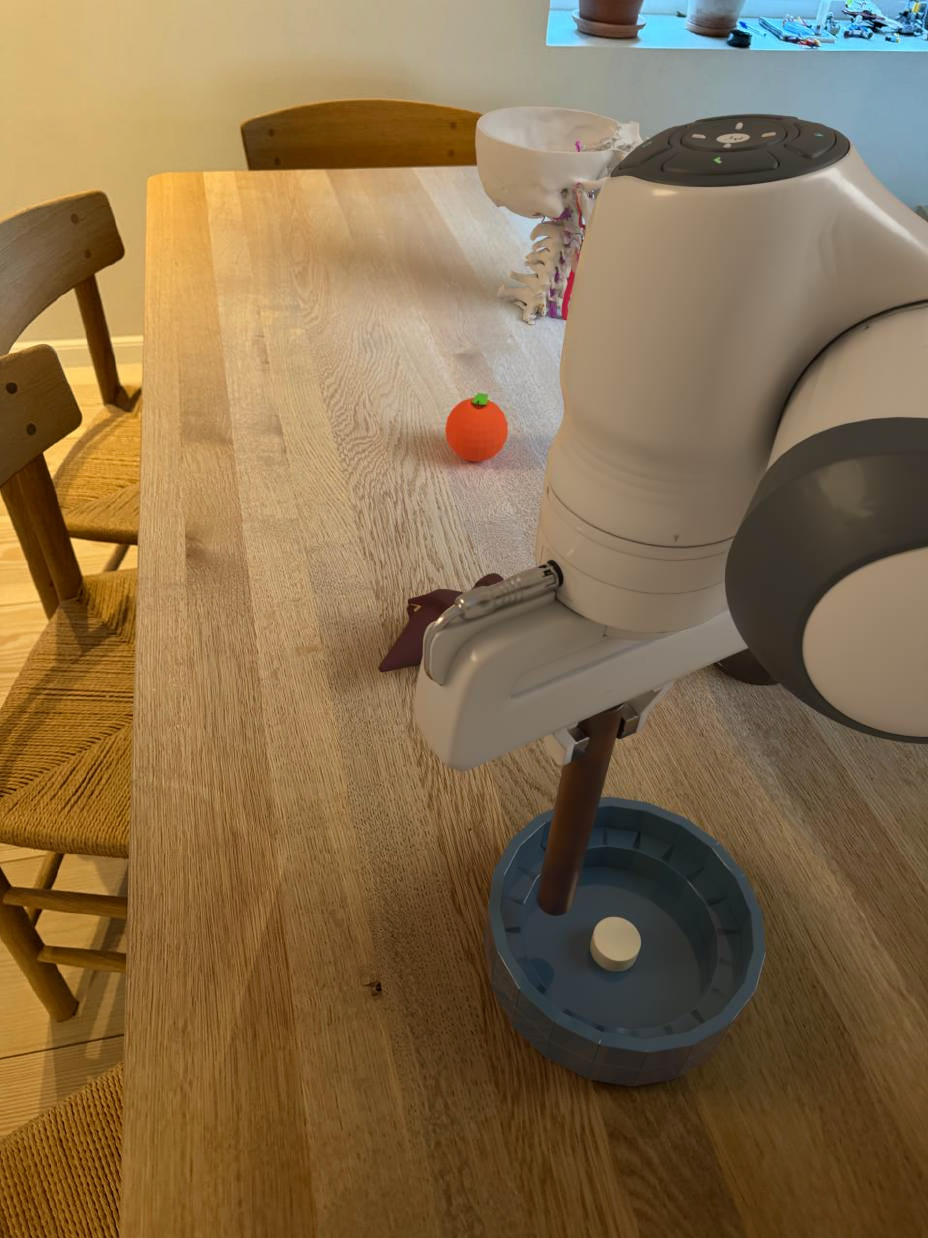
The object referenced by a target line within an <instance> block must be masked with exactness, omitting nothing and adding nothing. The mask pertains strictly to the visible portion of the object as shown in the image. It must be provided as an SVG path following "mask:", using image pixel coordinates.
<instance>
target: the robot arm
mask: <svg viewBox="0 0 928 1238" xmlns="http://www.w3.org/2000/svg"><path fill="white" fill-rule="evenodd" d="M649 138H650V137H649ZM643 142H644V143H642V144H640V145H639V146H638V147H636V148H635V149H634V150H633V151H632V152H630V153H629V154H628V155H627V156H626V157H625V159H623V160H622V161H621V162H620V163H619V164H618V165H617V166H616V167H615V168H614V169H613V170H612V172H611V173H610V174H609V176H608V177H607V179H606V180H605V182H604V184H603V186H602V188H601V190H600V192H599V194H598V196H597V199H596V201H595V204H594V207H593V209H592V212H591V215H590V219H589V222H588V225H587V228H586V232H585V236H583V239H584V240H583V243H582V247H581V251H580V256H579V260H578V265H577V269H576V273H575V278H574V283H573V288H572V293H571V296H570V301H569V304H568V315H567V320H565V327H564V333H563V334H564V335H563V341H562V346H561V354H560V361H559V385H560V389H561V395H562V403H563V412H562V413H563V414H562V419H561V423H560V426H559V428H558V429H557V432H556V433H555V435H554V438H553V440H552V442H551V444H550V447H549V450H548V454H547V458H546V463H545V470H544V479H543V486H542V494H541V501H540V509H539V514H538V523H537V529H536V538H535V545H534V562H535V567H531V568H528V569H525V570H523V571H519V572H517V573H516V574H513V575H511V576H509V577H506V578H505V579H504V580H503V581H501V582H498V583H496V584H493V585H490V586H488V587H486V586H481V587H477V588H474V589H472V588H471V589H469V590H467V591H465V592H463V594H461V595H460V596H458V597H457V598H456V599H455V604H454V605H453V606H451V607H450V608H449V609H447V610H446V611H445V612H444V613H443V614H442V615H441V616H440V617H439V618H438V619H437V620H436V621H434V622H432V623H431V624H430V625H429V626H428V627H427V629H426V631H425V634H424V638H423V657H422V661H421V665H419V670H418V675H417V681H416V687H415V694H414V700H413V718H414V722H415V724H416V727H417V728H418V730H419V732H420V733H421V735H422V737H423V738H424V740H425V741H426V743H427V745H428V746H429V748H430V749H431V750H432V752H433V753H434V755H436V757H437V758H438V759H439V760H440V761H441V762H442V763H443V764H444V765H445V766H448V767H449V768H451V769H452V770H453V769H454V770H455V771H458V772H466V771H470V770H472V769H474V768H477V767H479V766H481V765H483V764H485V763H488V762H491V761H493V760H495V759H497V758H500V757H502V756H504V755H506V754H509V753H511V752H514V751H516V750H518V749H520V748H523V747H525V746H527V745H529V744H532V743H534V742H536V741H538V740H541V739H543V745H544V749H545V750H546V752H547V754H549V756H550V758H552V760H553V761H554V762H555V764H556V765H557V766H559V767H562V768H563V766H564V765H566V764H568V763H570V762H572V761H574V760H576V759H578V758H580V757H582V756H585V755H586V750H585V749H586V747H587V746H588V742H589V737H588V736H587V734H586V733H585V732H584V731H583V729H581V728H578V727H577V724H578V722H580V721H582V720H584V719H587V718H589V717H591V716H594V715H596V714H598V713H600V712H603V711H605V710H607V709H610V708H612V707H614V706H616V705H619V704H621V703H623V702H625V706H624V710H623V713H622V717H621V721H620V725H619V729H618V733H617V736H616V740H623V739H624V738H627V737H629V736H632V735H634V734H636V733H638V732H640V731H642V730H644V728H645V724H646V721H647V718H648V715H649V712H651V711H652V710H653V709H654V707H656V705H657V704H658V703H659V702H660V700H662V698H663V697H664V696H665V695H667V693H668V691H670V690H671V688H672V687H673V686H674V684H675V682H676V680H678V679H681V678H682V677H685V676H687V675H690V674H692V673H695V672H697V671H699V670H702V669H703V668H706V667H708V666H710V665H714V663H715V662H717V661H720V660H722V659H724V658H726V657H729V656H731V655H733V654H736V653H738V652H740V651H742V650H745V649H747V648H749V649H750V651H751V652H752V653H753V655H754V656H755V658H756V659H757V660H758V661H759V662H760V664H761V665H762V666H763V667H764V668H765V669H766V670H767V671H768V673H769V674H770V675H771V676H772V677H773V678H774V679H776V680H777V681H778V682H779V683H778V684H780V685H781V686H782V687H783V688H784V689H785V690H786V691H787V692H788V693H790V694H791V695H793V697H795V698H797V700H799V701H800V702H802V703H804V704H805V705H806V706H808V707H809V708H811V709H812V710H814V711H815V712H817V713H818V714H820V715H822V716H824V717H826V718H827V719H829V720H831V721H833V722H836V723H837V724H840V725H842V726H844V727H846V728H848V729H850V730H854V731H856V732H859V733H862V734H864V735H868V736H871V737H875V738H879V739H883V740H887V741H892V742H897V743H898V742H899V743H905V744H916V745H928V221H926V220H925V219H924V218H922V217H921V216H920V215H919V214H917V213H916V212H914V211H913V210H912V209H911V208H910V207H908V205H906V204H905V203H904V202H902V200H900V199H899V198H898V197H897V196H896V195H894V193H892V192H891V191H890V190H889V189H888V188H887V187H886V186H885V185H884V184H883V182H881V181H880V180H879V179H878V177H876V176H875V175H874V174H873V172H872V171H871V170H870V169H869V167H868V166H867V164H866V163H865V161H864V160H863V158H862V157H861V155H860V153H859V151H858V149H857V148H856V147H855V145H854V143H853V142H852V141H851V140H850V139H849V138H848V137H847V136H846V135H844V133H842V132H840V131H838V130H837V129H835V128H832V127H830V126H827V125H826V124H823V123H821V122H820V123H819V122H814V121H809V120H806V119H800V118H799V117H797V116H791V115H783V114H771V113H741V114H729V115H728V114H727V115H720V116H711V117H705V118H700V119H696V120H695V121H693V122H687V123H686V124H685V123H684V124H681V125H674V126H671V127H668V128H666V129H664V130H662V131H660V132H658V133H656V134H655V135H652V136H651V138H650V139H648V140H647V141H645V140H644V141H643Z"/></svg>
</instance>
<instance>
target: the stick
mask: <svg viewBox="0 0 928 1238" xmlns="http://www.w3.org/2000/svg"><path fill="white" fill-rule="evenodd" d="M624 706H625V702H623V703H621V704H619V705H616V706H614V707H612V708H610V709H607V710H605V711H603V712H600V713H598V714H596V715H594V716H591V717H589V718H587V719H584V720H582V721H580V722H578V724H577V727H578V728H581V729H583V731H584V732H585V733H586V734H587V736H588V737H589V742H588V746H587V747H586V749H585V750H586V755H585V756H582V757H580V758H578V759H576V760H574V761H572V762H570V763H568V764H566V765H564V766H562V769H561V774H560V777H559V784H558V788H557V793H556V798H555V802H554V806H553V809H554V812H553V817H552V821H551V826H550V831H549V836H548V841H547V846H546V851H545V855H544V860H543V865H542V870H541V875H540V880H539V885H538V889H537V894H536V900H537V904H538V906H539V907H540V908H541V910H542V911H544V912H545V913H547V914H549V915H553V916H560V915H563V914H565V913H567V912H568V911H569V910H570V909H571V908H572V905H573V901H574V898H575V894H576V890H577V886H578V882H579V878H580V875H581V871H582V867H583V863H584V859H585V855H586V852H587V848H588V844H589V840H590V836H591V832H592V829H593V825H594V821H595V817H596V813H597V809H598V806H599V802H600V798H601V797H602V793H603V790H604V785H605V783H606V779H607V774H608V770H609V767H610V764H611V760H612V755H613V751H614V748H615V743H616V741H617V738H616V736H617V733H618V729H619V725H620V721H621V717H622V713H623V710H624Z"/></svg>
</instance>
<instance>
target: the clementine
mask: <svg viewBox="0 0 928 1238" xmlns="http://www.w3.org/2000/svg"><path fill="white" fill-rule="evenodd" d="M508 424H509V423H508V420H507V417H506V415H505V412H504V411H503V410H502V408H500V406H498V404H497V403H495V402H494V401H492V400H490V399H489V395H488V393H482V392H479V393H477V394H476V395H475V396H474V397H470V398H467V399H465V400H462V401H460V402H459V403H458V404H456V405H455V406H454V407H453V408H452V409H451V411H450V413H449V414H448V416H447V418H446V423H445V429H444V430H445V437H446V440H447V443H448V445H449V447H450V448H451V450H452V451H453V452H454V453H455V454H456V455H457V456H458V457H460V458H461V459H464V460H466V461H470V462H483V461H488V460H490V459H492V458H493V457H494V456H496V455H497V454H499V452H501V450H502V448H503V447H504V445H505V444H506V442H507V438H508V433H509V425H508Z"/></svg>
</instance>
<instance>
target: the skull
mask: <svg viewBox="0 0 928 1238" xmlns="http://www.w3.org/2000/svg"><path fill="white" fill-rule="evenodd" d="M640 134H641V133H640V123H639V122H637V121H634V120H633V121H632V120H629V122H628V123H625V122H620V121H618V120H615V119H613V118H611V117H608V116H605V115H601V114H598V113H595V112H591V111H587V110H583V109H574V108H566V107H558V106H540V105H539V106H537V105H535V106H534V105H533V106H531V105H529V106H528V105H527V106H525V105H524V106H512V107H504V108H500V109H495V110H491V111H489V112H486V113H485V114H483V115H481V116H480V117H479V118H478V120H477V122H476V127H475V138H474V147H475V155H476V168H477V173H478V177H479V180H480V182H481V186H482V188H483V191H484V193H485V195H486V196H487V197H488V198H489V200H490V201H491V202H492V203H493V204H494V205H495V207H497V208H500V207H504V208H506V209H507V210H508V211H509V212H511V213H513V214H515V215H517V216H520V217H523V218H527V219H530V220H531V219H532V220H537V219H542V220H541V222H540V223H538V224H536V225H535V226H534V228H533V229H532V231H531V233H530V234H529V239H530V241H531V242H534V241H535V240H536V239H537V238H539V237H543V238H542V239H541V240H538V241H536V242H534V243H533V244H532V245H531V249H532V251H531V252H529V253H528V254H526V255H525V259H526V260H524V262H523V263H524V264H523V265H524V267H529V269H531V270H532V271H533V272H535V273H530V274H529V273H519V272H516V271H510V272H509V278H510V279H512V280H515V281H517V282H520V283H523V284H524V285H525V286H524V287H513V288H512V287H509V286H508V284H506V283H503V284H502V285H501V286H500V287H499V289H498V290H497V293H496V297H497V298H498V299H499V300H503V299H505V298H514V299H518V301H514V302H513V304H515V305H517V306H518V307H520V308H521V309H522V310H524V311H523V314H522V321H523V322H526V323H527V324H528V325H536V324H537V323H536V321H535V319H537V316H536V313H537V312H538V314H539V315H538V316H539V319H541V315H542V316H543V317H546V316H547V313H549V316H550V317H551V318H558V313H557V309H559V310H561V317H562V320H565V321H567V315H568V309H569V304H570V298H571V293H572V288H573V283H574V278H575V273H576V269H577V265H578V260H579V256H580V251H581V247H582V243H583V240H584V236H585V232H586V228H587V225H588V222H589V219H590V215H591V212H592V209H593V207H594V204H595V201H596V199H597V196H598V194H599V192H600V190H601V188H602V186H603V184H604V182H605V180H606V179H607V177H608V176H609V174H610V173H611V172H612V170H613V169H614V168H615V167H616V166H617V165H618V164H619V163H620V162H621V161H622V160H623V159H625V157H626V156H627V155H628V154H629V153H630V152H632V151H633V150H634V149H635V148H636V147H638V146H639V145H640V144H642V143H644V142H645V141H647V140H648V139H650V138H651V137H652V136H651V137H644V141H643V139H642V137H641V135H640ZM546 218H547V219H549V220H545V219H546ZM583 221H584V224H583ZM540 248H542V249H540ZM525 304H526V305H525Z"/></svg>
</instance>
